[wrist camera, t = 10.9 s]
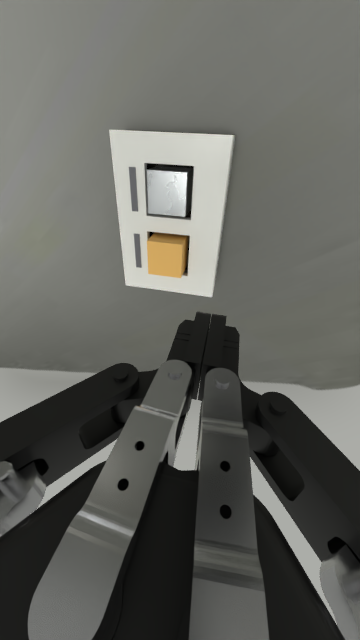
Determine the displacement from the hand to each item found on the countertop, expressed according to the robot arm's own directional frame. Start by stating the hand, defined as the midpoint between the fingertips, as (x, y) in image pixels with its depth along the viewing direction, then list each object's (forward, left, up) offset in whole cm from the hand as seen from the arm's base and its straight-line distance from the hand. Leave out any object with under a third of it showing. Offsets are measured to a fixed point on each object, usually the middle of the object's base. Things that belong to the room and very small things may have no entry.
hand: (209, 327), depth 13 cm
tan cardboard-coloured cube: (+6, -8, -25) cm, 27 cm away
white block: (-2, -8, -27) cm, 28 cm away
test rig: (+2, -8, -29) cm, 30 cm away
